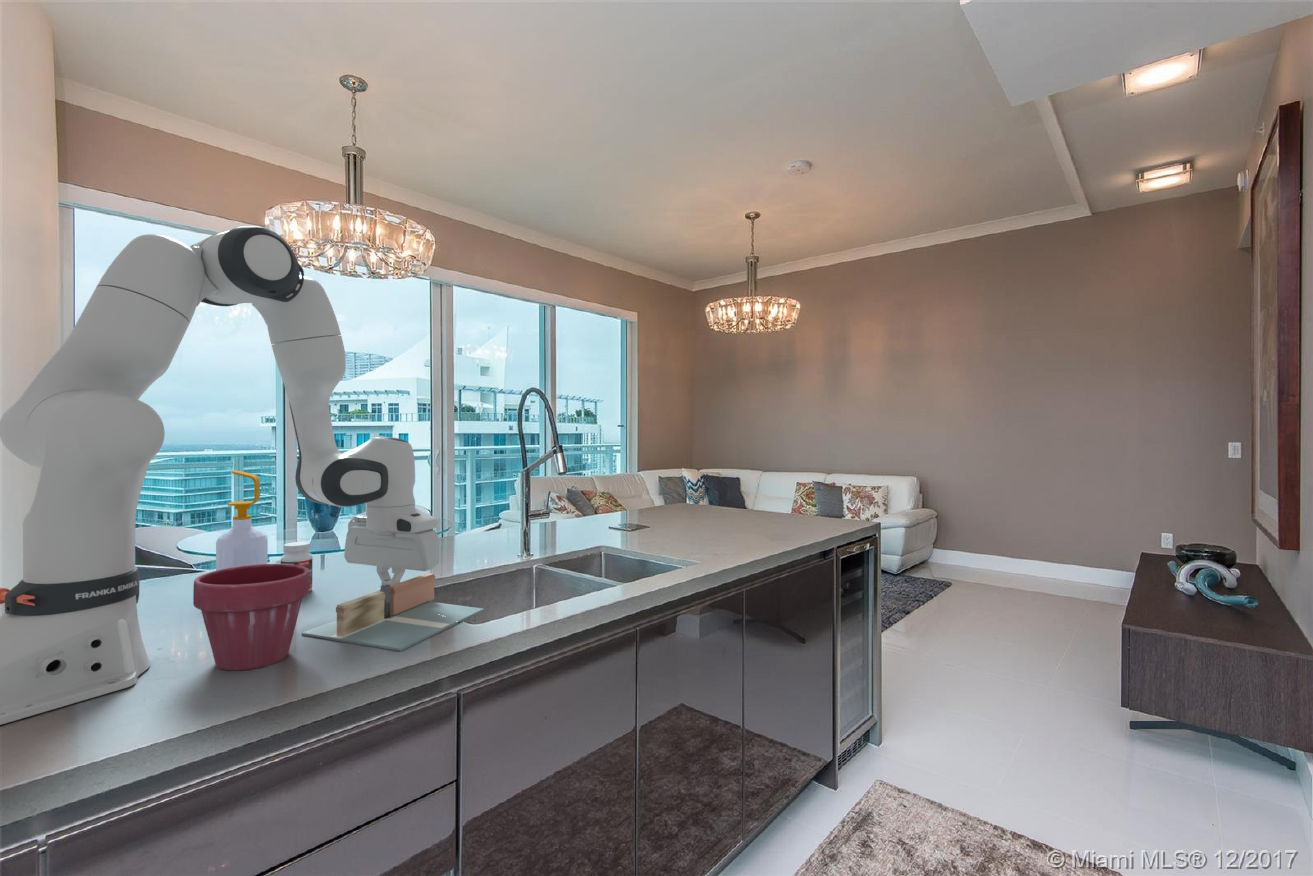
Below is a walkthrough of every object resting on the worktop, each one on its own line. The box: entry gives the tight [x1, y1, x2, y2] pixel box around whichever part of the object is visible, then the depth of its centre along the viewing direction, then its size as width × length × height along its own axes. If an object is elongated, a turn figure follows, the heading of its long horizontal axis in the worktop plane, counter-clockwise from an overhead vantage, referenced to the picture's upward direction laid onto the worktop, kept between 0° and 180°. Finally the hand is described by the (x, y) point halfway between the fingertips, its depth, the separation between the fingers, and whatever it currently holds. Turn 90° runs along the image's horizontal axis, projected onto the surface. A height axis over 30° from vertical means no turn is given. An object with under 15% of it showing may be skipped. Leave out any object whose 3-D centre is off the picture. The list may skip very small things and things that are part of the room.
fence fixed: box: [335, 590, 385, 636], centre depth 104 cm, size 9×2×5 cm, turn 162°
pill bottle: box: [280, 541, 314, 592], centre depth 126 cm, size 6×6×10 cm
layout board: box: [301, 601, 485, 652], centre depth 108 cm, size 22×20×1 cm
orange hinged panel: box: [390, 572, 436, 615], centre depth 115 cm, size 11×2×5 cm, turn 162°
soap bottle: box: [215, 469, 268, 571], centre depth 129 cm, size 9×9×25 cm
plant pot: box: [192, 563, 310, 671], centre depth 90 cm, size 14×14×13 cm
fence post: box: [380, 584, 390, 619], centre depth 109 cm, size 2×2×6 cm
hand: (390, 589), depth 120 cm, fingers closed
